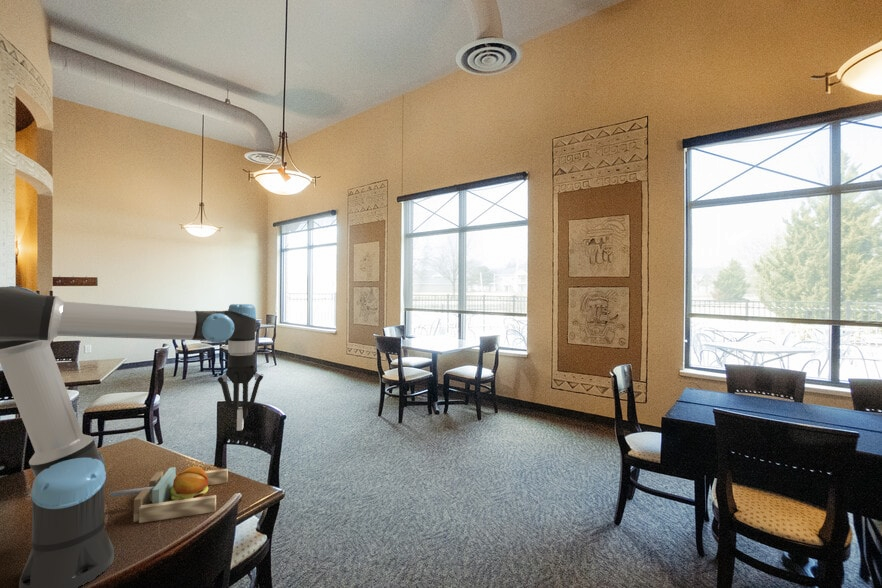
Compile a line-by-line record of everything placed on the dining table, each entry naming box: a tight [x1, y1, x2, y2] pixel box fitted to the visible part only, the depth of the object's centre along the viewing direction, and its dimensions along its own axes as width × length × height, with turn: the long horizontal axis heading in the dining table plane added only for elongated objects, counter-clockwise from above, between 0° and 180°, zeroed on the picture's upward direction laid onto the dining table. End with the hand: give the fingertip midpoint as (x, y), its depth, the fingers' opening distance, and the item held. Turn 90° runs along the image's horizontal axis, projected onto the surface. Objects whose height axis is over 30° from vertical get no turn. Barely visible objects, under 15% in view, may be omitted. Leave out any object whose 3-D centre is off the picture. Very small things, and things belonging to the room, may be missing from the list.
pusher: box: [109, 466, 177, 504], centre depth 113 cm, size 14×14×7 cm
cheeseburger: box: [170, 465, 209, 501], centre depth 118 cm, size 10×11×10 cm
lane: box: [133, 468, 229, 524], centre depth 117 cm, size 20×19×6 cm
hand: (240, 429), depth 121 cm, fingers closed
